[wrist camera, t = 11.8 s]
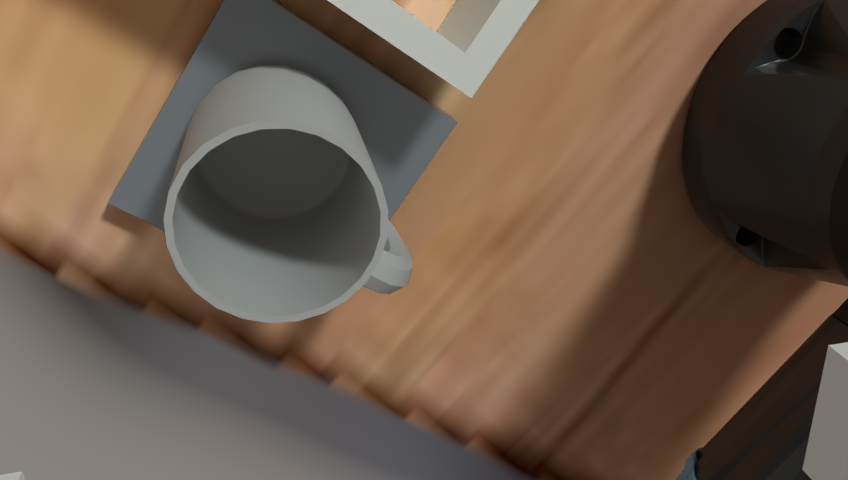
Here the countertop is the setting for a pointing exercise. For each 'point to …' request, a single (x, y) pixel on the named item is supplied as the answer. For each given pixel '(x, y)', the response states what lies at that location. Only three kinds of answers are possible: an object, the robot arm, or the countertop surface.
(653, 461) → the countertop surface
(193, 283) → the cup
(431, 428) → the countertop surface
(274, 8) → the slate tile
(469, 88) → the cold frame
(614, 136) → the countertop surface
